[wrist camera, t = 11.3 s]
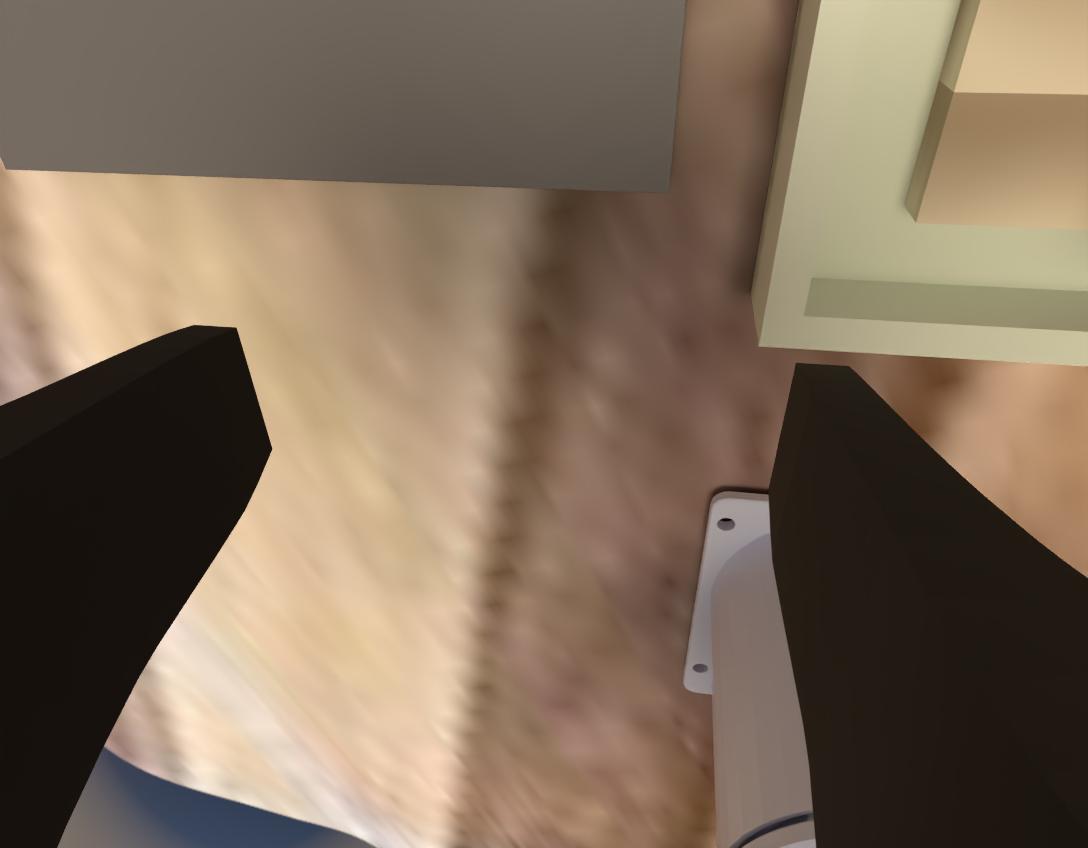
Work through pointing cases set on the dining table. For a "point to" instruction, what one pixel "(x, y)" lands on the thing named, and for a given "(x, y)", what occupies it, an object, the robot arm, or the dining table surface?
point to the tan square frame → (1008, 120)
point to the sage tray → (895, 211)
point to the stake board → (346, 90)
